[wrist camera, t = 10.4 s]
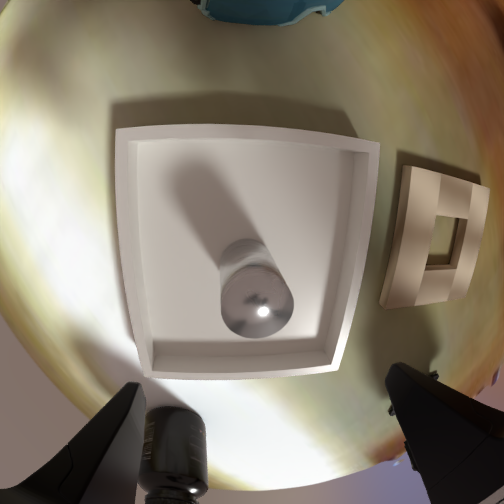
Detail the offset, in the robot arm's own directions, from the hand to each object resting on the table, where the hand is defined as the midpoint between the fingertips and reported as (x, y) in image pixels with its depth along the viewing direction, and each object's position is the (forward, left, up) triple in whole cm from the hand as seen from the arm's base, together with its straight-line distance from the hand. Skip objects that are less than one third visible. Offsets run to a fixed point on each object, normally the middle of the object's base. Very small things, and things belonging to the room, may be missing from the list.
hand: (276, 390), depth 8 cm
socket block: (+2, -18, -12) cm, 22 cm away
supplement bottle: (-19, +7, -12) cm, 24 cm away
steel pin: (0, 0, -11) cm, 11 cm away
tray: (0, 0, -12) cm, 12 cm away
